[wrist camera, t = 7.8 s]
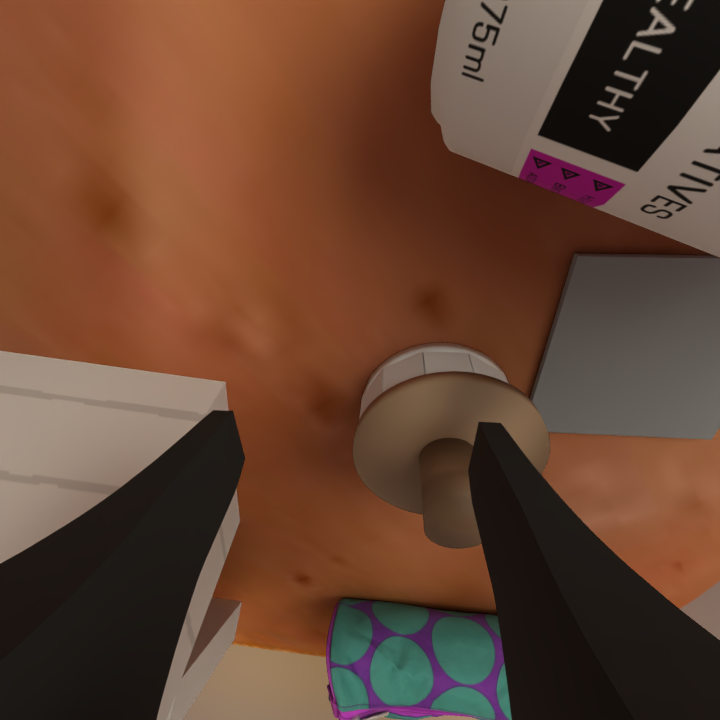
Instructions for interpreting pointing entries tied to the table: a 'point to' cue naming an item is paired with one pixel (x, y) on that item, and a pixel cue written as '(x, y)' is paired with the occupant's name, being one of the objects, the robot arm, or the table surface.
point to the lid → (440, 446)
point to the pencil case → (414, 663)
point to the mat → (634, 348)
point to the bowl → (427, 366)
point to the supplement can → (591, 103)
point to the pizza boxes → (108, 476)
